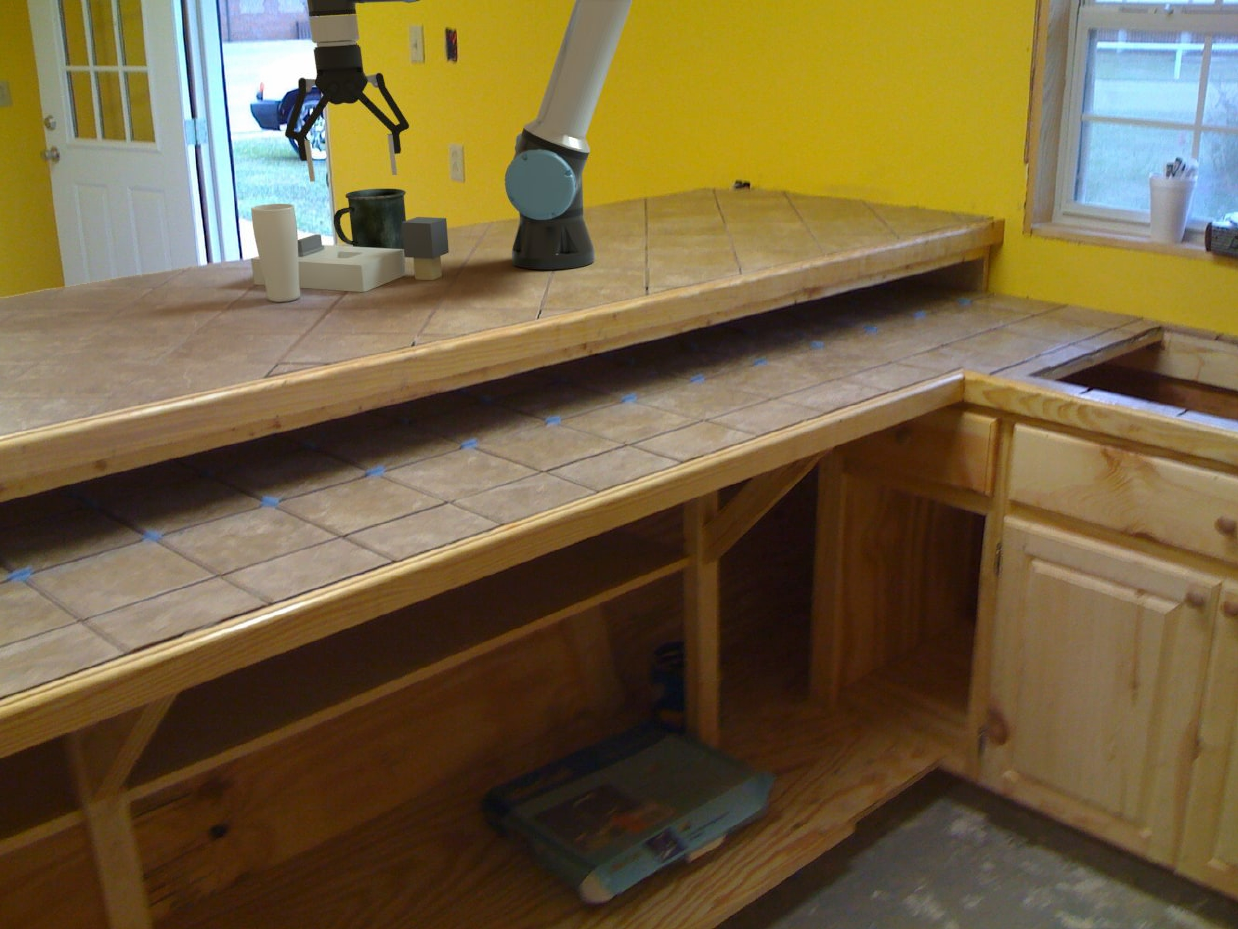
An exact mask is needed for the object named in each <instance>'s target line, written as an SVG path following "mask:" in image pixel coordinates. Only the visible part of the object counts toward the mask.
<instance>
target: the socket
mask: <svg viewBox="0 0 1238 929" xmlns="http://www.w3.org/2000/svg"><path fill="white" fill-rule="evenodd" d="M322 246H324V249H323V250H320V251H317V252H314V253H311V254H308V255H305V256H298V264H299V286H300V289H313V290H315V289H316V290H326V291H327V290H328V291H342V292H343V291H345V292H356V293H365V292H368V291H370V290H372V289H375V288H377V287H380V286H382V285H385V284H387V283H390V282H393V281H395V280H397V279H399V278H402V277H404V276H407V265H406V264H407V263H406V257H404V249H387V248H369V247H353V246H352V245H349V246H346V245H345V246H344V245H331V244H329V245H328V244H322ZM250 262H251V269H252V278H253V284H254V285H256V286H257V285H259V286H265V282H264V277H263V273H262V268H261V263H260V259H259V255H258V256H255V257H253V258H250Z"/></svg>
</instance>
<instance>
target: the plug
mask: <svg viewBox="0 0 1238 929" xmlns="http://www.w3.org/2000/svg"><path fill="white" fill-rule="evenodd" d="M401 223H402V234H403V245H404V257H405V258H408V259H409V258H410V259H413V269H414V280H423V281H435V280H436V279H439V278H441V277H443V273H442V272H443V271H442V261H441V257H442V256H444V255H446V254H448V253H449V252H450V251H449V239H448V238H449V236H448V225H447V224H448V223H447V217H428V216H427V217H426V216H416V217H414V218H410V219H408V220H407V219H406V221H404V222H401Z"/></svg>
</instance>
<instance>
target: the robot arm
mask: <svg viewBox="0 0 1238 929" xmlns="http://www.w3.org/2000/svg"><path fill="white" fill-rule="evenodd" d="M420 1H421V0H306V3H307V9H308V16H309V17H308V20H309V27H310V35H311V41H312V43H313V44H316V47H315V46H314V48H313V55H314V63H315V69H316V76H315V78H305V77H300V78H299V79H298V82H297V85H298V86H297V87H298V88H297V90H298V93H297V96H296V98H295V102H294V105H293V108H292V111H291V113H290V117H289V121H288V122H287V127H286V129H285V132H284V137H286V138H287V139H292V140H295V141H296V142H297V146H298V147H297V148H298V153H299V154H298V155H299V159H300V161H301V162H306V161H307V168H308V176H309V182H310V183H311V182H316V175H315V169H314V167H315V166H314V162H313V160H314V159H313V155H312V147H311V140H310V139H306V137H307V135H308V134H309V132H310V130H312V128H313V126H314V125H315V123H316V122H317V120H318V119H319V117H320V116H321V114H322V112H323V111H324V110H325V108H326V107H327V106H328V104H329V103H330V104H333V105H336V106H338V105H341V104H347V105H348V104H349V105H350V104H351V105H352V104H355V103H356V102H358V101H360V103H362V104H363V105H364V107H365V108H367V109H368V110H369V111H370V113H371V114H373V116H375V118H377V119H378V120H379V121H380V122H381V123H382V124H383V125H384V126H385V127H386V128H387V129H388V130H389V131H390V132H391V133H387V141H388V142H387V143H388V151H389V159H390V160H389V161H390V167H391V175H392V176H397V175H398V171H397V170H398V169H397V163H396V155H397V154H401V152H402V146H401V145H402V144H401V139H400V135H401V133H402V132H404V131H407V130H408V129H409V128H410V123H409V121H407V119H406V117H405V116H404V114H403V113H402V111H401V109H400V108H399V106H398V104H397V103H396V101H395V100H394V98H393V96H392V94H391V93H390V91H389V90H388V88H387V87H386V83H385V78H384V75H383V73H382V72H376V73H375V74H370V75H366V73H365V71H364V65H363V64H364V63H363V57H362V56H363V55H362V48H361V46H360V45H359V44H358V43H357V42H358V41H359V40H360V34H359V24H358V16H357V9H356V4H368V3H373V4H374V3H393V2H395V3H400V2H403V3H409V4H411V3H416V2H420ZM633 1H634V0H574V4H573V7H572V10H571V14H570V17H569V19H568V22H567V25H566V28H565V31H564V34H563V36H562V39H561V40H562V41H561V42H560V46H559V49H558V53H557V55H556V58H555V62H554V65H553V67H552V70H551V74H550V75H549V79H548V83H547V86H546V88H545V90H544V91H545V92H544V95H543V97H542V101H541V103H540V106H539V109H538V112H537V115H536V118H535V119H533V120H531V121H529V122H527V123H526V124H524V126H523V129H522V130H521V131H522V132H521V133H519V134H518V135H517V136H516V138H515V146H514V150H515V153H514V155H513V159H512V160H511V161H510V163H509V165H508V166H507V169H506V170H505V176H504V187H505V188H504V189H505V192H506V196H507V198H508V201H509V203H510V204H511V206H513V208H514V209H515V210H516V211H517V212H519V213H518V215H519V220H518V226H517V229H516V230H517V231H516V234H515V237H514V241H513V245H512V248H511V262H512V264H513V265H514V266H516V267H518V268H523V269H532V270H563V269H574V268H580V267H583V266H584V267H585V266H587V265H590V264H592V263H594V262H595V248H594V245H593V242H592V239H591V235H590V232H589V230H588V227H587V224H586V222H585V221H586V220H585V217H584V190H583V188H584V187H583V186H584V185H583V172H584V170H585V167H586V164H587V161H588V159H589V154H590V152H591V148H590V146H589V143H588V140H587V139H586V136H587V133H588V130H589V128H590V125H591V122H592V119H593V116H594V113H595V110H596V107H597V104H598V102H599V99H600V95H601V93H602V90H603V87H604V84H605V81H606V78H607V75H608V73H609V70H610V67H611V64H612V62H613V58H614V56H615V53H616V50H617V47H618V44H619V42H620V38H621V35H622V33H623V30H624V27H625V24H626V21H627V19H628V16H629V12H630V9H631V7H632V5H633V4H632V3H633ZM368 83H370V84H371V85H372V87H373V88H377V89H378V90H379V92H380V94H381V96H382V97H383V98H384V100H385V102H386V103H387V105H388V107H389V108H390V110H391V111H392V113H393V115H394V117H395V118H396V119H397V122H398V123H397V124H396V123H394V122H393V121H392V120H391V119H390V118H389V117H388V116H387V115H386V114H385V113H384V112H383V111H382V110H381V109H380V108H379V107H378V106H377V105H376V104H375V103H374V102H373V101H372V100H371V99H370V98H369V97H368V96H367V95H366V94H365V93H364V91H365V89H366V87H367V85H368ZM313 87H316V88H317V89H318V91H319V92H320V94H322V96H321V98H320V99H319V101H318V102H317V104H316V106H315V107H314V108H313V110H312V112H311V114H310V115H309V116H308V118H307V119H306V121H305V123H303V126H302V127H301V128H300V130H299V131H297V130H295V129H296V128H297V127H296V125H297V123H298V121H299V117H300V115H301V111H302V109H303V106H304V102H305V100H306V96H307V93H310V92H311V91H312V88H313Z"/></svg>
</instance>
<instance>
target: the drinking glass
mask: <svg viewBox="0 0 1238 929" xmlns="http://www.w3.org/2000/svg"><path fill="white" fill-rule="evenodd" d="M251 222H252V229H253V235H254V240H255V246H256V248H257V254H258V256H259V259H260V263H261V268H262V273H263V277H264V282H265V285H264V286H265V294H266V298H267V300H268V301H270V302H273V303H274V302H275V303H287V302H294V301H296V300H298V299H299V298H300V297H301V288H300V286H299V264H298V240H299V237H298V225H297V217H296V211H295V206H294V205H293V204H291V203H271V204H270V203H269V204H261V205H256V206H253V207H251Z"/></svg>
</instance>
